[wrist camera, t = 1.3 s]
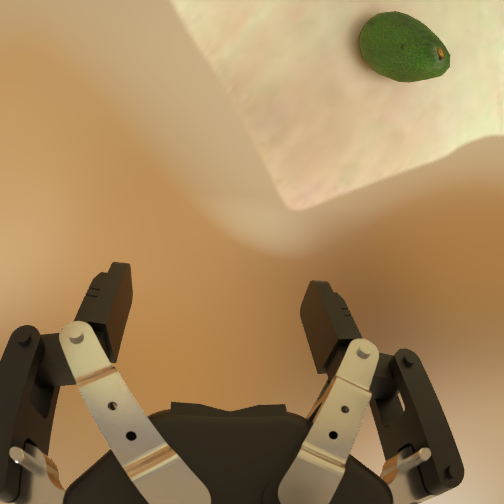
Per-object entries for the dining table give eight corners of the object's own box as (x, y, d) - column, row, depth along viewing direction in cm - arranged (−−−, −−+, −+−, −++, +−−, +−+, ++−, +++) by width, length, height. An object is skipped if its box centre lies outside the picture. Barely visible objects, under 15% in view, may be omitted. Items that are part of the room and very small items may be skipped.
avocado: (412, 70, 26) (470, 98, 17) (355, 75, 28) (401, 101, 19) (402, 12, 21) (463, 16, 12) (341, 13, 22) (386, 10, 14)
